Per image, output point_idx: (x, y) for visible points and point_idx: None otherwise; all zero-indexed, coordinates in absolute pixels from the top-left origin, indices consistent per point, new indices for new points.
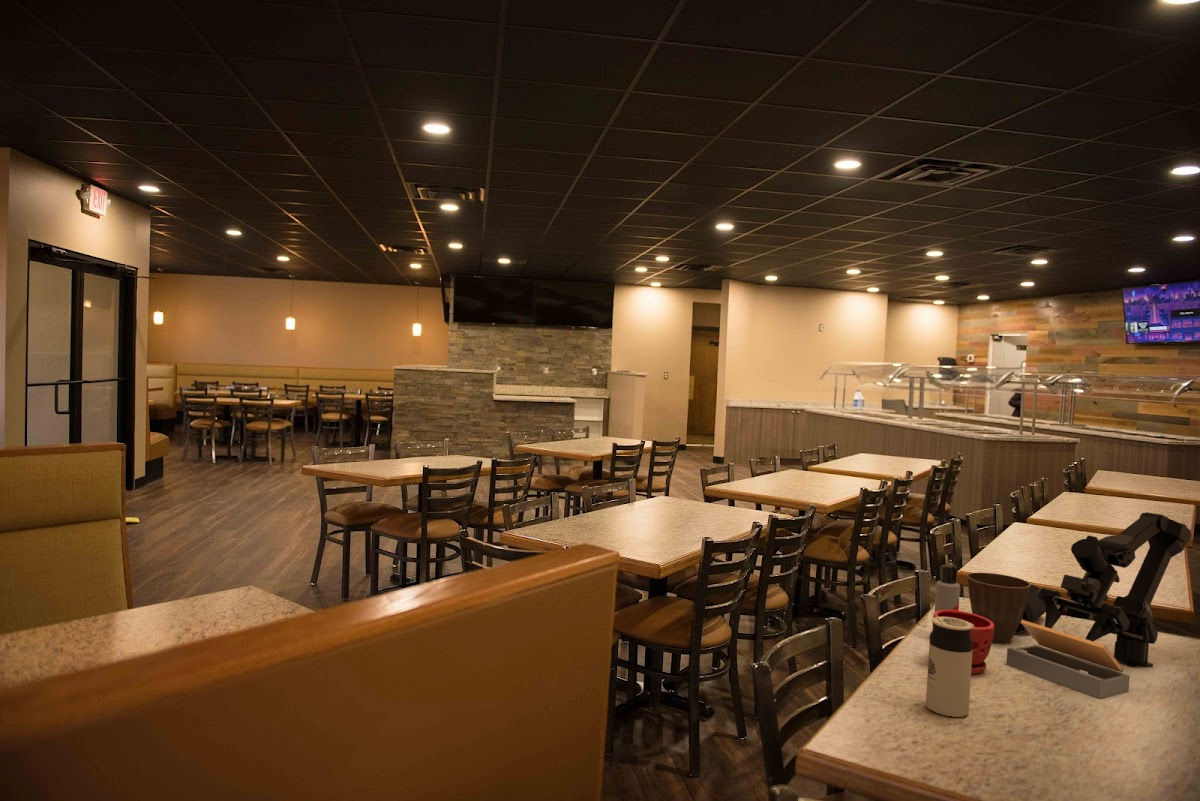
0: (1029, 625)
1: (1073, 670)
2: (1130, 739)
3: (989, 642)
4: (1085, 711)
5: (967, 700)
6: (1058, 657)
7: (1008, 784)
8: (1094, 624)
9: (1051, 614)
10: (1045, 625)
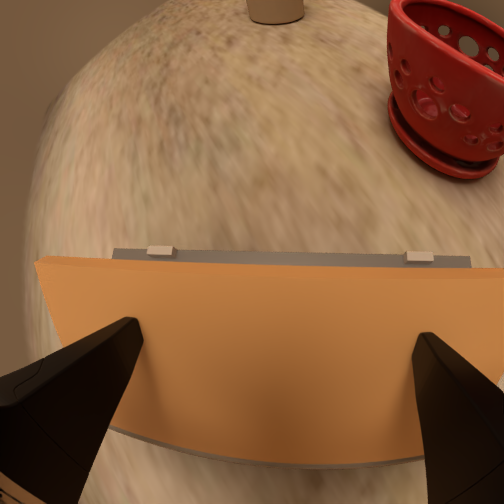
0: (492, 270)
1: (200, 257)
2: (79, 138)
3: (395, 59)
4: (143, 159)
5: (246, 1)
6: None
7: (160, 8)
8: (27, 387)
9: (482, 430)
10: (444, 346)
